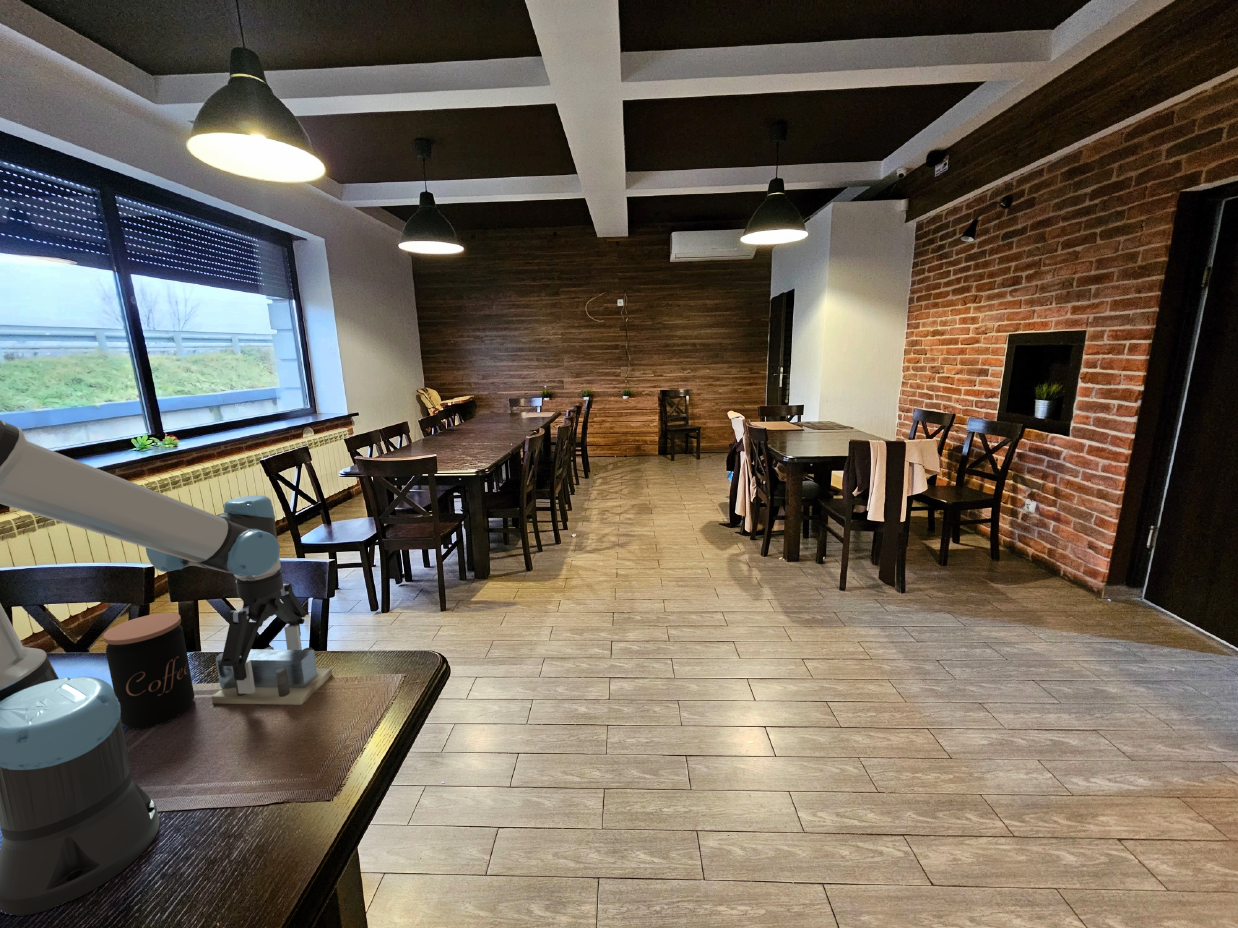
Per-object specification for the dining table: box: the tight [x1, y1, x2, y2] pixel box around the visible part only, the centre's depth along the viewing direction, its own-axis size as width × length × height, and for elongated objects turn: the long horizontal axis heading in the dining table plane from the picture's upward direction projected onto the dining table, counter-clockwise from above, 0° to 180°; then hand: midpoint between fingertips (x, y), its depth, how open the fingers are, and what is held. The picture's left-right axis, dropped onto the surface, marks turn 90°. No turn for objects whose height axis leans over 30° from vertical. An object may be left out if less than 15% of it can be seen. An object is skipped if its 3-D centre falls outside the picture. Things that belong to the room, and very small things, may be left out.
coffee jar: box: [102, 612, 195, 730], centre depth 95 cm, size 11×11×18 cm
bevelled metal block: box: [215, 648, 317, 689], centre depth 103 cm, size 19×5×6 cm, turn 88°
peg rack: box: [211, 646, 333, 706], centre depth 103 cm, size 10×18×6 cm, turn 87°
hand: (272, 671), depth 103 cm, fingers open, 13 cm apart
